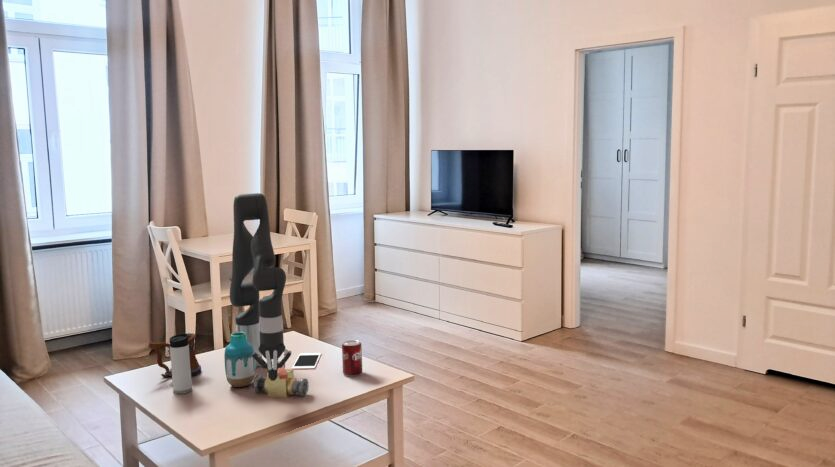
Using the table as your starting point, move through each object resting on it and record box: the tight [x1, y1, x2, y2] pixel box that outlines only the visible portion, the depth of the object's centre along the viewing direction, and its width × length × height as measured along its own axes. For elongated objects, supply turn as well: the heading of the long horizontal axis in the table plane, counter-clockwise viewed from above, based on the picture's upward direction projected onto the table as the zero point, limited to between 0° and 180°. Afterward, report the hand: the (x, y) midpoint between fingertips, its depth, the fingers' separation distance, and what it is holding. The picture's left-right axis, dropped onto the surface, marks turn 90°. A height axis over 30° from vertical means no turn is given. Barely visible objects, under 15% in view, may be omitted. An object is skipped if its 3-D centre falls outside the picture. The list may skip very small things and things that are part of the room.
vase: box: [223, 332, 256, 388], centre depth 236 cm, size 11×11×19 cm
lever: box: [277, 360, 288, 379], centre depth 223 cm, size 14×4×2 cm, turn 17°
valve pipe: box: [252, 368, 309, 399], centre depth 228 cm, size 18×6×9 cm, turn 74°
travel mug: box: [169, 332, 193, 395], centre depth 233 cm, size 6×7×20 cm
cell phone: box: [291, 352, 322, 371], centre depth 262 cm, size 9×18×1 cm, turn 0°
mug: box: [148, 332, 202, 378], centre depth 249 cm, size 18×12×15 cm, turn 121°
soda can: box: [341, 339, 363, 378], centre depth 246 cm, size 7×7×12 cm
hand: (273, 379), depth 217 cm, fingers closed
